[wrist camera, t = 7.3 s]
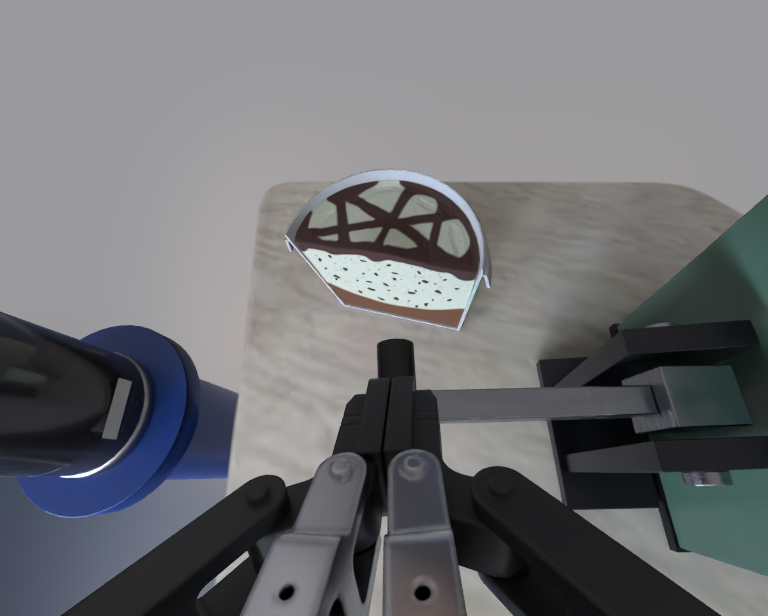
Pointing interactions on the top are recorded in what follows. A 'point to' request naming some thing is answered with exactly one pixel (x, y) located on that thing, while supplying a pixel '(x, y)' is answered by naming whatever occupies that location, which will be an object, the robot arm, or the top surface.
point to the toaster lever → (595, 398)
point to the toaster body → (755, 378)
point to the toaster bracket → (617, 436)
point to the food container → (395, 245)
